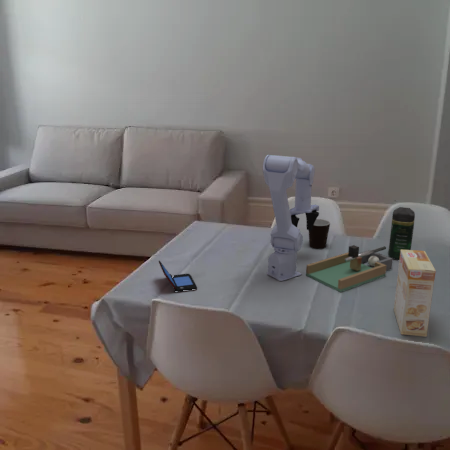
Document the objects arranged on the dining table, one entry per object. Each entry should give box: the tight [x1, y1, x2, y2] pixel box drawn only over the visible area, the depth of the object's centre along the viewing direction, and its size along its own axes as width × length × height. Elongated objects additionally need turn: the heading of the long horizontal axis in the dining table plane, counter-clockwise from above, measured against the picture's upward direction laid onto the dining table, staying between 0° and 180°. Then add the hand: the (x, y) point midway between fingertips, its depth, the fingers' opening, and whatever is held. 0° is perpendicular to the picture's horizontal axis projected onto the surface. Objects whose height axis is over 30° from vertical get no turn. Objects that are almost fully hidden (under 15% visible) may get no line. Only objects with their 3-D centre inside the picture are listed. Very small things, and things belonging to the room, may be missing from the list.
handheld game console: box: [158, 260, 198, 292], centre depth 171 cm, size 12×11×7 cm
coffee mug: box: [307, 218, 331, 250], centre depth 205 cm, size 12×9×10 cm
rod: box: [345, 244, 387, 271], centre depth 181 cm, size 20×3×8 cm, turn 125°
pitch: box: [305, 249, 394, 293], centre depth 179 cm, size 29×16×4 cm, turn 125°
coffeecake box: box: [393, 249, 437, 338], centre depth 144 cm, size 15×7×20 cm, turn 170°
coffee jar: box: [387, 206, 416, 261], centre depth 192 cm, size 10×8×19 cm
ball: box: [367, 256, 380, 268], centre depth 185 cm, size 4×4×4 cm
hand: (301, 232), depth 190 cm, fingers open, 7 cm apart
